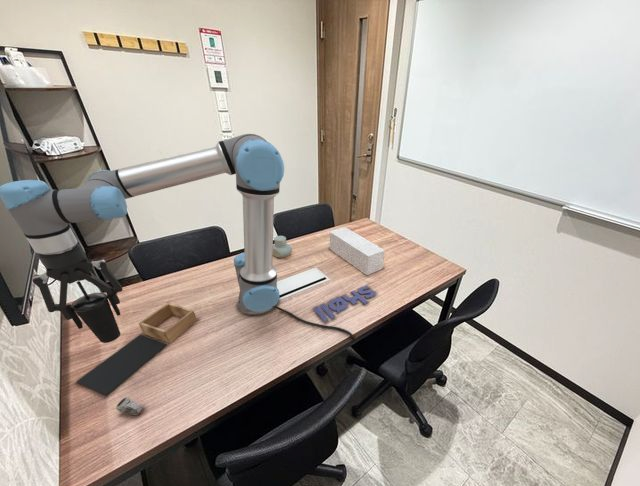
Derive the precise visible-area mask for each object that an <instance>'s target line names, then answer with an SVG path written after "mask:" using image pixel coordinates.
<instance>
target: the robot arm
mask: <svg viewBox="0 0 640 486" xmlns="http://www.w3.org/2000/svg"><path fill="white" fill-rule="evenodd" d="M223 174H228V175H229V176H233V175H235V185H236V186H235V188H236V191H237V192H239V194H241V195H242V217H243V218H242V221H243V246H244V252H241V253H238V254H237V255H236V256H235V257H234V258H233V266H234V269H235V273H236V278H237V283H238V288H239V295H238V299H237V306H238V310H239V311H240V312H241V313H243V314H245V315H247V316H260V315H264V314H267V313H269V312H271V311H272V310H274V309H276V310H278V311H280V312H282V313H284V314H286V315H289V316H291V317H292V318H294V319H296V321H299V322H301V323H304V324H306V325H310V326H314V327H318V328H323V329H329V330H335V331H340V332H343V333H345V334H347V335H348V336H350V337H351V338H352V340H353V341H357V338H356V337H355V335H354V334H352V333H351V332H350V331H349V330H347V329H344V328H342V327H337V326H332V325H326V324H321V323H316V322H311V321H308V320H305V319H302V318H300V317H298V316H297V315H295V314H293V313H292V312H290V311H288V310H286V309H284V308H281V307H280V306H277V304H278V302H279V300H280V298H281V297H280V290H279V288H278V270H277V268H276V267H275V266H274V265H273V257H274V255H273V245H274V213H275V210H274V208H275V205H274V204H275V197H276V196H277V195H279V194H280V187H281V182H282V180H283V178H284V174H285V164H284V159H283V158H282V155H281V153H280V152H279V149H277V148H276V147H275V146H274V144H272V143H271V142H269V141H267V140H266V139H265V138H264V137H262V136H260V135H258V134H255V133H245V134H241V135H237V136H234V137H231V138H227V139H224V140H220V141H217V142H216V143H215V146H211V147H207V148H202V149H197V150H194V151H189V152H186V153H181V154H177V155H173V156H168V157H164V158H160V159H156V160H152V161H147V162H143V163H139V164H134V165H130V166H126V167H121V168H117V169H113V170H109V169H101V170H98V171H96V172H93V173H91V175H89V176H88V178H87V179H86V180H85V181H84V182H83V184H81V185H80V186H79V187H77V188H67V189H51V187H50V186H49V185H48V184H47V183H46V182H45V181H43V180H39V179H23V180H16V181H11V182H6V183H4V184H2V185H0V199H1V200H2V202H3V204H4V205H5V209H6V211H8V212H9V214H10V216H11V217H12V218H13V220H14V221H15V222H16V224H17V226H18V227H19V229H20V230H21V231H22V233H23V235H24V237H25V239H26V240H27V242H28V243H29V245H30V246H31V249H33V251H34V252H35V254H37V257H38V259H39V260H40V262H41V264H42V265H43V267H44V268H45V270H46V271H45V272H44V273H42V274H34V275H32V283H33V284H34V285H35V286H36V287H37V288H38V289H39V291H40V294H41V296H42V300H43V302H44V304H45V306H46V309H47V311H48V312H49V313H54V312H61V314H62V315H63V317H64V318H65V320H67V321H69V320H72V321H73V322H74V324H75V325H76V327H77V329H78V330H81V329H83V320H82V319H81V318H80V317H79V315H78V314H77V313H76V312H75V311H73V310H72V309H71V304H72V303H71V304H67V302H68V301H67V299H68V286H69V285H70V284H74V283H75V282H78V281H80V282H81V281H86V282H88V283H91V284H92V285H94V286H95V287H97V288H98V289H100V290H101V291H103V293H105V294H107V297H108V302H109V304H110V306H111V308H112V309H113V311H114V313H115V314H116V316H117V317H120V316H121V310H120V309H119V306H118V305H119V304H120V303H121V300H120V297H119V296H118V293H121V292H123V287H122V284H121V283H120V282H119V280H118V279H117V278H116V276H115V275H114V274H113V273H112V271H111V270H110V268H109V267H108V266H107V262H106V259H104V258H100V259H99V260H93V261H92V260H90V259H89V258H88V257H87V256H86V254H85V252H84V250H83V248H82V246H81V245H80V243H79V242H78V239H77V237H76V236H75V234H74V232H73V230H72V228H71V226H70V224H75V223H85V222H98V221H110V220H111V221H112V220H114V219H120V218H124V217H126V216H127V214H128V205H127V201H126V200H128V199H132V198H135V197H137V196H142V195H146V194H149V193H153V192H158V191H161V190H165V189H169V188H172V187H177V186H180V185H184V184H188V183H192V182H196V181H199V180H203V179H207V178H211V177H215V176H219V175H223ZM93 267H95V268H96V269H97V270H100V271H101V273H102V274H103V275H104V277H105V278H106V279H107V281H108V282H109V283H110V284H111V285H112V286H111V285H110V284H108V283H106V282H105V281H103V280H102V279H101V278H99V277H98V276H96V275H95V274H94V273H93V272H91V271H92V268H93ZM49 278H50V279H52V280H55V281H57V282H59V302H58V303H55V301H54V298H53V295H52V292H51V290H50V286H49V284H48V283H49Z"/></svg>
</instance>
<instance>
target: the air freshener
mask: <svg viewBox="0 0 640 486" xmlns="http://www.w3.org/2000/svg"><path fill="white" fill-rule="evenodd" d="M273 242H274V243H273V257H276V258H281V259H282V258H287V257H288V256H290V255H291V254H292V252H293V248H292V246H291V244H289V243H288V242H287V237H286V236H284V235H276V236H275V237H273Z"/></svg>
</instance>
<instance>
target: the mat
mask: <svg viewBox="0 0 640 486" xmlns="http://www.w3.org/2000/svg"><path fill="white" fill-rule="evenodd" d="M166 347H168V344H167V343H166V342H162V341H161V340H160V341H159V340H158V339H157V340H156V339H154V338H152V337H148V336H145V335H143V334H139V335H137V336H136V337H135V338H133V339H132V340H131V341H130V342H128V343H127V344H126V345H124V346H123V347H121V348H120V349H119V350H117V351H116V352H114V353H113V354H112V355H110V356H109V357H107V358H106V359H105V360H103V362H101V363H99V364H98V365H97V366H95V367H94V368H93V369H92V370H90V371H89V372H87V373H86V374H84V375H83V376H82V377H80V378H79V379H78V380H76V384H78V385H81V386H83V387H85V388H88V389H90V390H92V391H94V392H97V393H99V394H101V395H104V396H106V397H107V396H109V395H110V394H111V393H112V392H113V391H115V390H116V389H117V388H118V387H119V386H121V385H122V384H123V383H124V382H126V380H128V379H129V378H130V377H132V376H133V375H135V373H136V372H138V371H139V370H140V369H141V368H142V367H143V366H145V365H146V364H147V363H148V362H150V361H151V360H152V359H153V358H154V357H155V356H156V355H158V354H159V353H160V352H161V351H163V350H164V349H165V348H166Z"/></svg>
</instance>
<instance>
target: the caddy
mask: <svg viewBox="0 0 640 486" xmlns="http://www.w3.org/2000/svg"><path fill="white" fill-rule="evenodd" d="M172 315H173V316H176V317H180V319H178V320H177V321H176V322H174V323H173V324H172V325H170V327H168V328H167V329H166V330H165V329H163V328H159V327H157V326H158V325H160V324H162V323H163V322H164V321H165V320H167V319H168V318H169V317H171V316H172ZM197 321H198V319H197V316H196V313H195V310H193V309H190V308H187V307H183V306H181V305H177V304H174V303H171V302H167V303H166V304H164V305H162V306H161V307H160V308H159V309H157V310H155V311H154V312H152V313H151V314H150V315H148V316H146V318H144V319H143V320H141V321H140V322H138V325H139V327H140V329H141V332H142V334H144V335H146V336H149V337H150V338H153V339H154V338H155V339H157V340H160V341H163V342H165V343H168V344H171V343H172V342H173V341H174V340H176V339H177V338H178V337H180V336H181V335H182V334H183V333H184V332H185V331H187V330H188V329H189V328H190V327H191V326H193V324H195V323H196V322H197Z"/></svg>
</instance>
